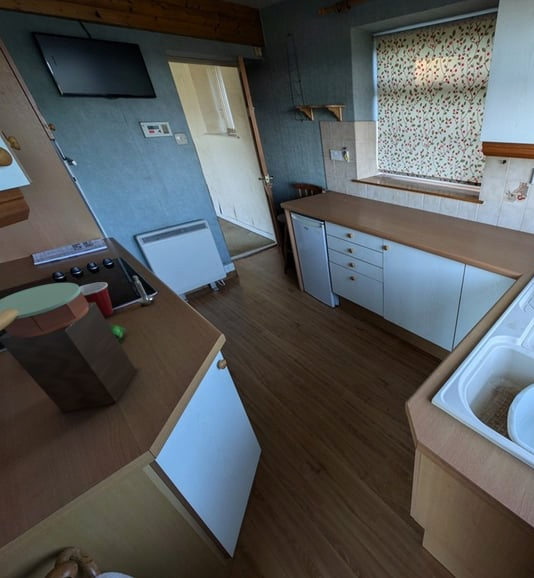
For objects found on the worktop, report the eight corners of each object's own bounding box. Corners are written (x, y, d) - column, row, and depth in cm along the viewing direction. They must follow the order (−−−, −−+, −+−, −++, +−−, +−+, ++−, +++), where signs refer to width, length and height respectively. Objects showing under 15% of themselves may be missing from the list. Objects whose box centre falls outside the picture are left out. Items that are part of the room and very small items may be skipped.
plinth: (56, 415, 75) (-27, 323, 60) (87, 376, 86) (24, 289, 71) (118, 404, 78) (54, 314, 63) (140, 367, 90) (90, 283, 74)
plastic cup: (120, 303, 119) (106, 277, 113) (122, 315, 112) (107, 288, 106) (85, 313, 113) (68, 286, 107) (84, 326, 106) (66, 299, 100)
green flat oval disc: (25, 292, 72) (17, 281, 70) (95, 285, 75) (89, 274, 73) (-89, 365, 50) (-104, 353, 49) (16, 351, 54) (6, 339, 52)
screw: (141, 308, 116) (139, 303, 119) (155, 303, 119) (153, 298, 122) (126, 279, 109) (125, 275, 112) (142, 276, 112) (141, 271, 115)
